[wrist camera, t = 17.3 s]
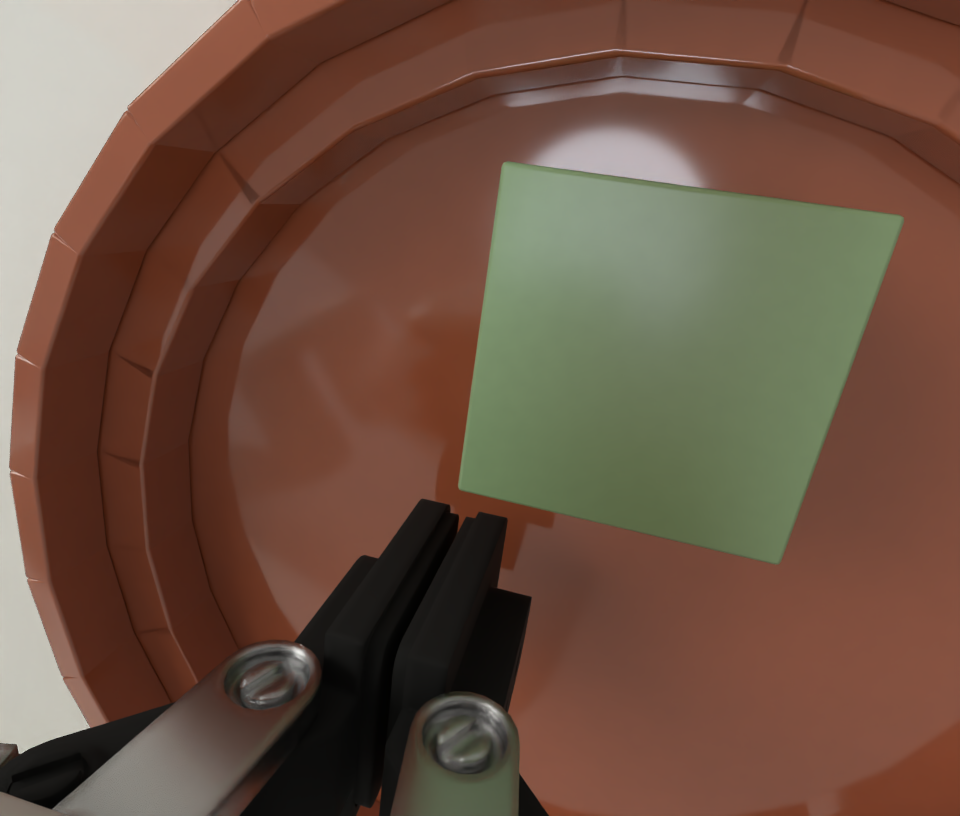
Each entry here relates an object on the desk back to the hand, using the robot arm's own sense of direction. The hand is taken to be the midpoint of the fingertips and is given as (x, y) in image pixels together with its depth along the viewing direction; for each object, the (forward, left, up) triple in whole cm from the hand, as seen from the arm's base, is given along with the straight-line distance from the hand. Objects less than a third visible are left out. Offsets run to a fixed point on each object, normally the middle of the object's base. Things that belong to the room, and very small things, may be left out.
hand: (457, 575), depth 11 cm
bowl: (+2, 0, -2) cm, 3 cm away
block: (+2, +5, -1) cm, 6 cm away
